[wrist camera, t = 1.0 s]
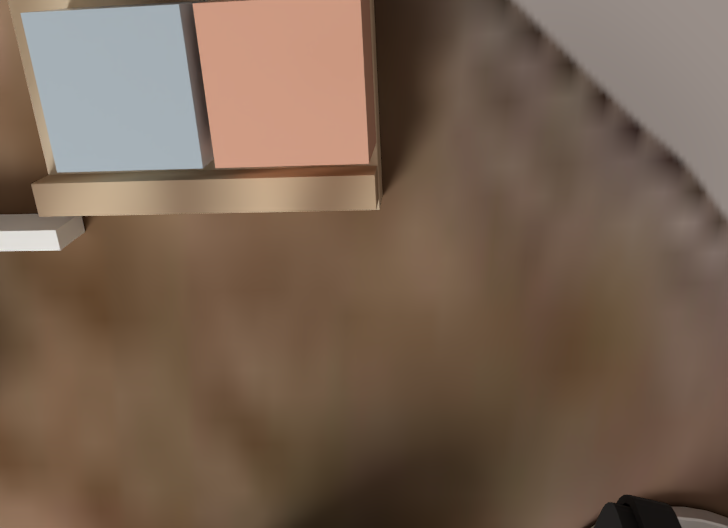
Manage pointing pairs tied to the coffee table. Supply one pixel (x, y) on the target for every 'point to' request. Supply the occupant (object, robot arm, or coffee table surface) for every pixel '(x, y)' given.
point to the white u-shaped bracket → (38, 232)
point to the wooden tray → (194, 186)
